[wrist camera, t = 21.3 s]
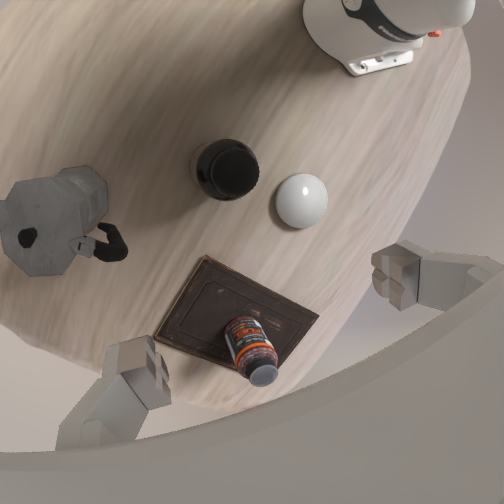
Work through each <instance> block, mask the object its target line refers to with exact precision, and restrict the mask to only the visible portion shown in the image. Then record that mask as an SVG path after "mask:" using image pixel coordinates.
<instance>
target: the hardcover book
mask: <svg viewBox="0 0 504 504" xmlns="http://www.w3.org/2000/svg"><path fill="white" fill-rule="evenodd" d="M243 316H247V317H252V318H254V319H255V320H257V321H258V323H259V324H260V325H261V327H262V329H263V331H264V332H265V334H266V336H267V338H268V339H269V341H270V343H271V344H272V346H273V348H274V350H275V351H276V353H277V356H278V363H277V366H276V367H277V369H278V368H279V367H280V366H281V365H282V363H283V362H284V361H285V360H286V358H287V357H288V356H289V355H290V354H291V352H292V351H293V350H294V348H295V347H296V346H297V345H298V343H299V342H300V341H301V340H302V338H303V337H304V336H305V334H306V333H307V332H308V330H309V329H310V328H311V327H312V325H313V324H314V323H315V321H316V320H317V319H318V317H319V315H318V314H316V313H314V312H312V311H310V310H308V309H306V308H304V307H303V306H301V305H299V304H297V303H295V302H293V301H291V300H289V299H287V298H285V297H283V296H282V295H280V294H278V293H276V292H274V291H272V290H270V289H268V288H266V287H265V286H263V285H261V284H259V283H257V282H255V281H253V280H251V279H250V278H248V277H246V276H244V275H242V274H240V273H238V272H237V271H235V270H233V269H231V268H229V267H227V266H226V265H224V264H222V263H220V262H218V261H216V260H215V259H213V258H211V257H209V256H207V255H206V256H205V255H204V257H203V258H202V260H201V262H200V263H199V265H198V266H197V268H196V270H195V271H194V273H193V274H192V276H191V277H190V279H189V281H188V282H187V284H186V286H185V287H184V289H183V290H182V292H181V294H180V295H179V297H178V298H177V300H176V302H175V303H174V305H173V307H172V308H171V310H170V312H169V313H168V315H167V317H166V318H165V320H164V322H163V323H162V325H161V327H160V328H159V330H158V332H157V333H156V335H155V336H154V340H157V341H159V342H162V343H164V344H166V345H169V346H171V347H174V348H176V349H179V350H181V351H184V352H187V353H189V354H192V355H194V356H197V357H200V358H202V359H205V360H208V361H211V362H214V363H216V364H219V365H222V366H225V367H228V368H231V369H234V370H237V367H236V365H235V363H234V360H233V357H232V355H231V352H230V350H229V347H228V345H227V342H226V339H225V329H226V327H227V325H228V324H229V323H230V322H231V321H233V320H234V319H236V318H239V317H243ZM237 371H238V370H237Z"/></svg>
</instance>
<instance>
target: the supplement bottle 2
mask: <svg viewBox="0 0 504 504" xmlns="http://www.w3.org/2000/svg"><path fill="white" fill-rule="evenodd" d="M225 339H226V342H227V345H228V347H229V350H230V352H231V355H232V357H233V360H234V363H235V365H236V367H237V370H238V372H239V373H240V375H241V376H243V377H244V378H246V379H249V381H250V382H251V384H252V385H254V386H257V387H263V386H267V385H269V384H271V383H272V382H274V381H275V379H276V378H277V376H278V369H277V367H276V366H277V363H278V356H277V353H276V351H275V350H274V348H273V346H272V344H271V343H270V341H269V339H268V338H267V336H266V334H265V332H264V331H263V329H262V327H261V325H260V324H259V323H258V321H257V320H255V319H254V318H252V317H247V316H243V317H239V318H236V319H234V320H233V321H231V322H230V323H229V324H228V325H227V327H226V329H225Z"/></svg>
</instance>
